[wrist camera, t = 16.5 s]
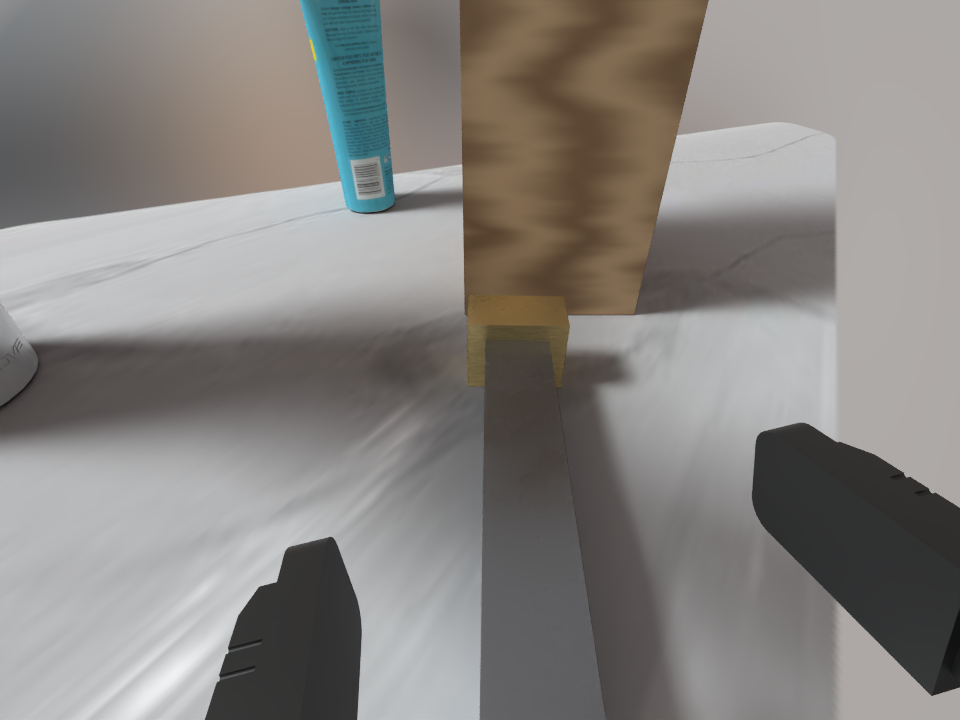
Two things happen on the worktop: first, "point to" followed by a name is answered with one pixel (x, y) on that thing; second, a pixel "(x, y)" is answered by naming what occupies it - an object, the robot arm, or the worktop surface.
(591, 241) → the post
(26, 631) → the worktop surface
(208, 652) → the worktop surface
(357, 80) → the tube
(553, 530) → the grey long block
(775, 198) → the worktop surface
